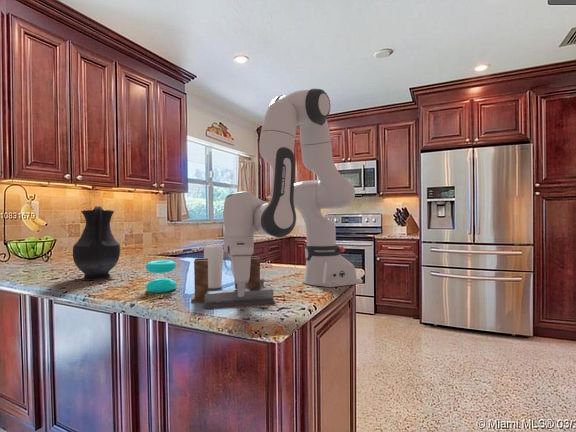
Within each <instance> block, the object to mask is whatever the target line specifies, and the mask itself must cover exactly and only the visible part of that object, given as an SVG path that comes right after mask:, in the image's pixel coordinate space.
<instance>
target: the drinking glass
mask: <svg viewBox="0 0 576 432" xmlns="http://www.w3.org/2000/svg"><path fill="white" fill-rule="evenodd" d="M203 258H208V290H209V289H210V290H216V289H217V290H218V289H220V288H221V287H222V286H223V285H222V284H223V283H222V282H223V279H222V278H223V269H224V267H223V265H224V245H221V244H211V245H210V244H209V245H204V246H203Z"/></svg>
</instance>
